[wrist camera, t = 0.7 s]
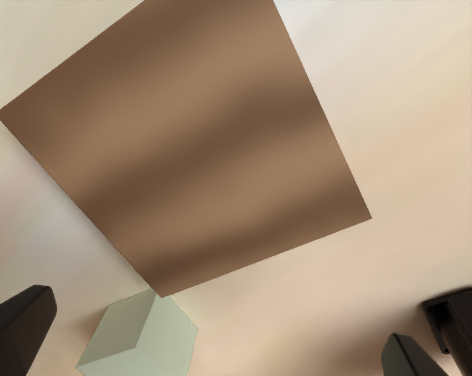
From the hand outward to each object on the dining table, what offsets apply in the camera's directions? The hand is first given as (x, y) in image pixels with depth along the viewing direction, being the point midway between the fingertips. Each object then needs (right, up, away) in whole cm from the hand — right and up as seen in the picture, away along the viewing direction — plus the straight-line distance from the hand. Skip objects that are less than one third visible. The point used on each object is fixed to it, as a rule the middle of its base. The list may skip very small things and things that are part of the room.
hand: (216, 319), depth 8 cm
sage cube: (-7, -9, +21) cm, 24 cm away
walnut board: (-2, +6, +13) cm, 14 cm away
